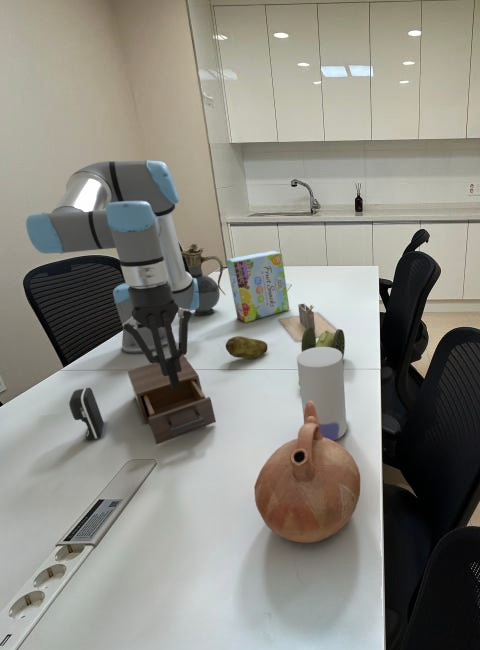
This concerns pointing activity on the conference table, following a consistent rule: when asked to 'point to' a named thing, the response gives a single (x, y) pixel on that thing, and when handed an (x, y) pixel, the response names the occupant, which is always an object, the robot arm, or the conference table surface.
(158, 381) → the cabinet
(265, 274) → the snack box
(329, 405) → the container
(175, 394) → the drawer
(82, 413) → the battery charger
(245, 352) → the potato
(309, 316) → the ruin model on sheet
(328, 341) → the cannon
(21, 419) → the conference table surface
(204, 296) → the pitcher
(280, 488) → the jug
